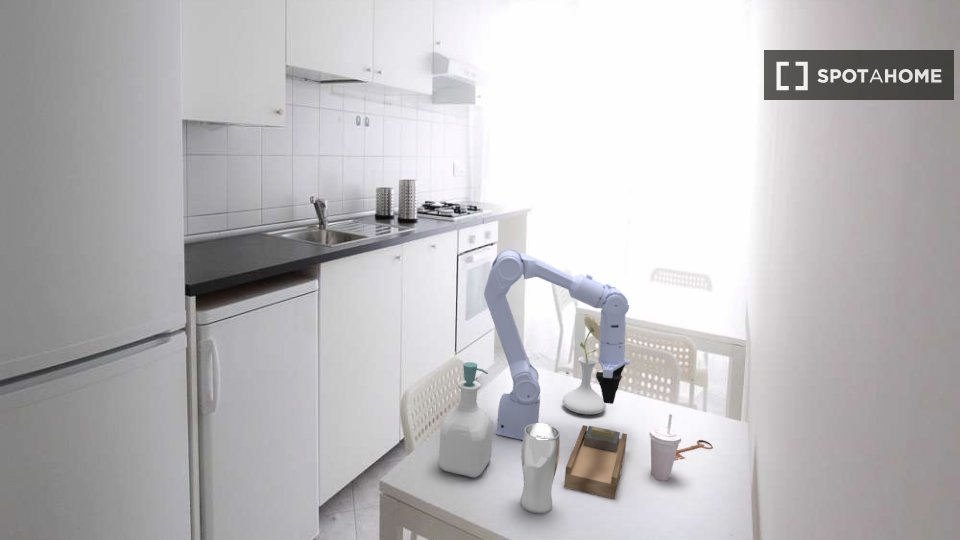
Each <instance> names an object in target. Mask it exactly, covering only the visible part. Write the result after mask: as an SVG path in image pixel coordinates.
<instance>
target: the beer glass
mask: <svg viewBox="0 0 960 540" xmlns="http://www.w3.org/2000/svg"><path fill="white" fill-rule="evenodd" d="M560 443H561V442H560V431H559V429H558V428H557V427H555V426H553V425H551V424H548V423H543V422H541V423H539V422H538V423H534V424H530V425H528V426H526V427H525V429H524V436H523V440H522V444H521V458H520V459H521V467H522V468H521V470H522V477H523V488H522V493H521V497H520V501H519V503H520V506H521V508H523V510H525V511H526V512H528V513H531V514H536V515H537V514H538V515H539V514H540V515H541V514H542V515H543V514H546V513H549V512H550V511H551V510H552V509H553V498H552V491H553V490H552V489H553V483H554V479H555V476H556V472H557V468H558V463H559V459H560V458H559V457H560V449H561V448H560Z"/></svg>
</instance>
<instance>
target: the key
mask: <svg viewBox="0 0 960 540" xmlns="http://www.w3.org/2000/svg"><path fill="white" fill-rule="evenodd" d="M696 443H697V444H696V445H695V444H694V445H690V446H689V447H685V448H681V449H677V452H676V456H675V459H674V462H675V461H678V460H684V459H686V457H685V456H683V455H682V454H681V453H685V452H688V451H693V450H697V449H700V448H703V449H705V450H712V449H714V448H713V445H712V444H711V443H710V442H709V441H706V440H702V439H698V440H697V441H696ZM702 443H704V444H707V445H709V446H710V447H707V446H705V445H704V444H702Z"/></svg>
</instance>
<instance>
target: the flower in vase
mask: <svg viewBox="0 0 960 540" xmlns="http://www.w3.org/2000/svg"><path fill="white" fill-rule="evenodd" d="M583 321H584V325H585V326H586V328H587V330H588V331H589V332H588V333H587V334H586V338H585V339H584V343H583V341H581V342H580V344H579V346H580V347H581V348H582V349H583V350H584V355H585V356H580V357H578V362H579V363H580V366H581V374H582V375H581V382H580V385H579V386H578V387H576V388H575V389H573V390H571V391H569V392H568V393H566V394H565V395H564V396H563V398H562V403H563V406H564V407H565V408H566V409H568V410H569V411H571V412H574V413H577V414H580V415H581V414H582V415H597V414H601V413H602V412H604V410H605V409H606V407H607V405H606V403H604V401H603V397H601V396H600V394H598V393H597V392H596V391H595V390H594V389H593V388H592V385H591V378H592V373H593V369H594V368H595V366H596V364H597V363H599V362H598V359H597V358H594V357H591V356H588V355H590V354H592V353H594V352H596V351H597V350H596V349H594V350H592V351H588V352H587V349H586V347H587V346H586V343H587V340H588V338H589V336H590V334H591V336H592V337H594V338H595V340H597V341H599V342H600V324H599V323H598V322H597V321H596V319H595V317H591V316H590V315H589V314H588V315H587V316H586V315H584V317H583Z"/></svg>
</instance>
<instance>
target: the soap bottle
mask: <svg viewBox="0 0 960 540" xmlns="http://www.w3.org/2000/svg"><path fill="white" fill-rule="evenodd" d="M462 365H463V366H462V367H463V378H464V380H461V381H459V382H458V384H457V387H458V388H459V390H460V401H459V404H458V405H456V406H455V407H453V408H452V409H451V410H450V411H448V413H447V415H446V416H445V418H444V419H443V421H442V424H441V425H440V428H439V429H440V430H439V431H440V433H439V434H440V435H439V455H438V463H439V468H441V470H443V471H444V472H448V473H451V474H452V473H453V474H457V475H461V476H465V477H469V478H470V477H471V478H477V477H478V476H480V475H481V474H482V473H483V472H484V470H485V469H486V467H487V465H488V463H490V460H491V458H492V453H493V452H492V449H493V436H494V435H493V434H494V424H493V421H492V419H491V417H490V416H489V414H488V413H487V412H486V411H485V410H484V409H482V408H481V407H480V406H479V405H478V402H477V400H478V399H477V397H478V394H477V393H478V390H480V389H481V386H482V385H481V383H480V382H478V381H476V380H475V379H476V376H477V371H479V372H482V373H484V374H485V375H488V374H489V372H488V371H486V370H484V369H483V368H478V363H476V362H471V361H469V362H468V361H467V362H464V363H463V364H462Z"/></svg>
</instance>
